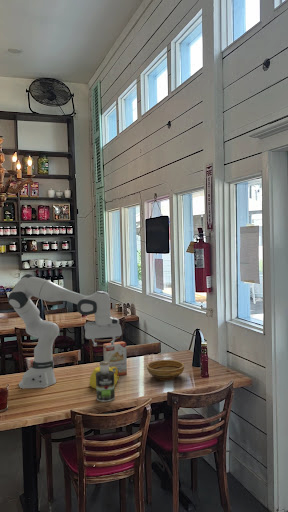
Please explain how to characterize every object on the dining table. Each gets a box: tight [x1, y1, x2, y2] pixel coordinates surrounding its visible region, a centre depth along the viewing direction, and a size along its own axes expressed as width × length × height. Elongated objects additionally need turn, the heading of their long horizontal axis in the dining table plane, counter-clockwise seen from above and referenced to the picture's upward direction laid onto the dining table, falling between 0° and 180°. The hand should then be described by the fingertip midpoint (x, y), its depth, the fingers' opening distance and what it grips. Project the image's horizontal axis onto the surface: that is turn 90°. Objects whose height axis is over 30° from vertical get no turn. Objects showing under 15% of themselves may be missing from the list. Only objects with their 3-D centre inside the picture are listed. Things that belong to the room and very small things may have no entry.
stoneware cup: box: [99, 360, 109, 375], centre depth 240 cm, size 5×5×6 cm
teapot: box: [89, 366, 120, 390], centre depth 260 cm, size 20×19×13 cm
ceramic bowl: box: [145, 359, 186, 381], centre depth 273 cm, size 30×24×8 cm
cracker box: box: [102, 341, 128, 377], centre depth 281 cm, size 14×6×21 cm, turn 115°
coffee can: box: [95, 371, 116, 403], centre depth 240 cm, size 10×10×14 cm
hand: (103, 345), depth 240 cm, fingers open, 8 cm apart
